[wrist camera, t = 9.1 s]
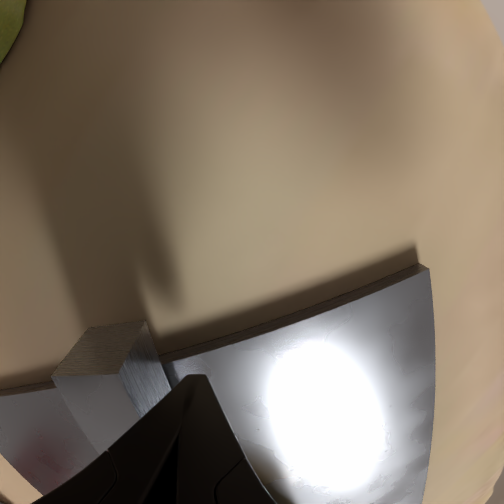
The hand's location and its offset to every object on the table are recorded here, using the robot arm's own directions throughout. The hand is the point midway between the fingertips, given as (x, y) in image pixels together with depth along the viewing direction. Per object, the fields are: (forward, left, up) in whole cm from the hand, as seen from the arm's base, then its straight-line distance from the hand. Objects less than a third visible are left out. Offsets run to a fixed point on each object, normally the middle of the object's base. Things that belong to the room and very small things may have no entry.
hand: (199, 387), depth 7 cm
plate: (-11, +4, -2) cm, 12 cm away
